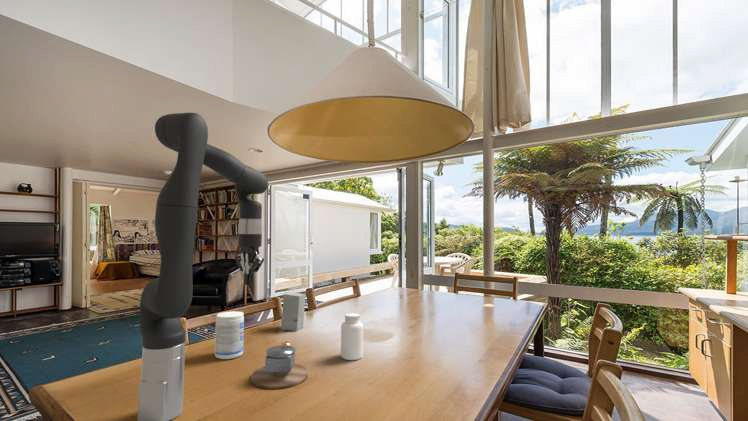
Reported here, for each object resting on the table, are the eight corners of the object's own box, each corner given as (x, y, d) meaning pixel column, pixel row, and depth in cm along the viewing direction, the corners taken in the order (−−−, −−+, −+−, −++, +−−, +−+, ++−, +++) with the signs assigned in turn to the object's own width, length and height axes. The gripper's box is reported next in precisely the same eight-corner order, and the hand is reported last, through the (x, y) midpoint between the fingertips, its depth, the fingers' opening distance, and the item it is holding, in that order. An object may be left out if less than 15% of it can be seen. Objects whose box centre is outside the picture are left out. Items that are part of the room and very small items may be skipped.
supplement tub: (246, 357, 129) (247, 315, 129) (217, 362, 123) (218, 318, 124) (239, 349, 137) (240, 309, 137) (212, 353, 132) (213, 312, 132)
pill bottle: (351, 351, 136) (351, 311, 137) (367, 356, 131) (368, 314, 132) (335, 357, 130) (336, 314, 131) (352, 362, 125) (353, 318, 126)
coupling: (291, 372, 109) (292, 354, 109) (262, 372, 108) (263, 354, 108) (299, 356, 122) (299, 340, 122) (273, 356, 122) (273, 340, 122)
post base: (301, 389, 104) (302, 368, 104) (242, 388, 104) (243, 367, 104) (312, 366, 121) (312, 348, 122) (261, 365, 122) (262, 347, 122)
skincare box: (280, 329, 163) (281, 294, 164) (288, 325, 170) (289, 291, 170) (297, 331, 160) (298, 295, 161) (305, 327, 167) (305, 292, 168)
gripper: (272, 233, 120) (270, 285, 119) (247, 232, 128) (246, 281, 127) (252, 233, 114) (251, 288, 113) (228, 232, 122) (226, 284, 121)
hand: (248, 284), depth 120 cm, fingers closed
